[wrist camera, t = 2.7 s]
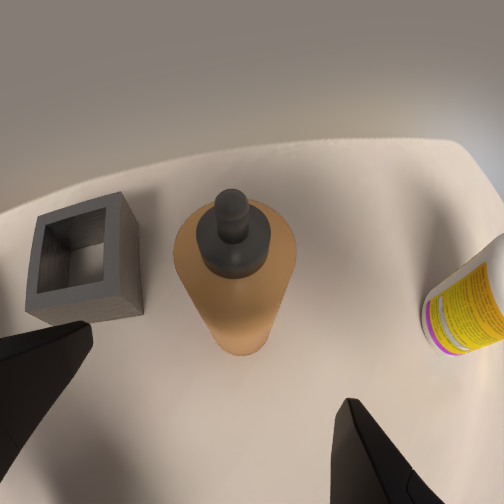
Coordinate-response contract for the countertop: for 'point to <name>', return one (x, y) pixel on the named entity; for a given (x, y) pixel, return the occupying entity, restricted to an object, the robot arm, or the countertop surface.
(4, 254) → the countertop surface
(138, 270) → the grey square open block
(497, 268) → the supplement bottle
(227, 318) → the plug
